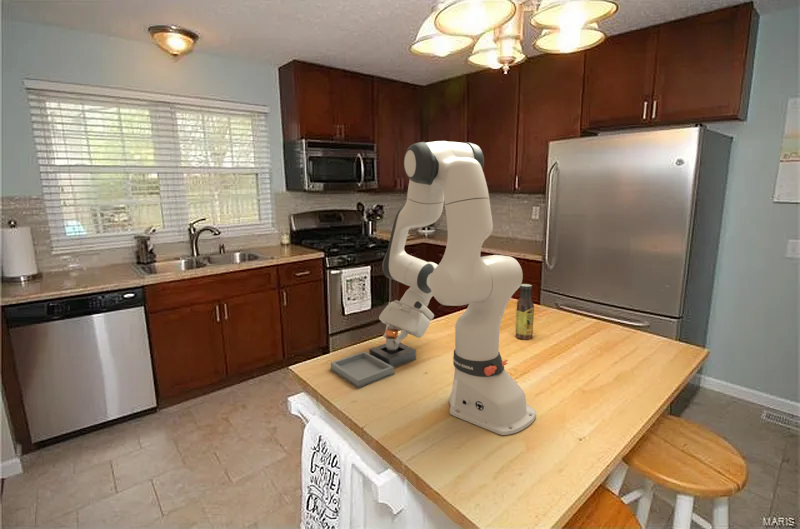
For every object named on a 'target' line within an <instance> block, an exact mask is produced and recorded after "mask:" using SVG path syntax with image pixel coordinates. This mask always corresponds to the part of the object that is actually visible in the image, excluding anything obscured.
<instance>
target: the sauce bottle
mask: <svg viewBox="0 0 800 529" xmlns="http://www.w3.org/2000/svg"><path fill="white" fill-rule="evenodd" d="M519 289H520V295H519V298H518V300H517V302H516V310H515V329H514V330H515V337H516V338H518V339H520V340H531V339H532V338H533V334H534V320H535V319H534V317H535V305H534V302H533V300H532V299H533V298H532V289H533V285H532V284H528V283H521V286H520V287H519Z"/></svg>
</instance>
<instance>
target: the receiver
mask: <svg viewBox="0 0 800 529" xmlns="http://www.w3.org/2000/svg"><path fill="white" fill-rule="evenodd" d="M368 350H369V352H368V353H369V354H371V355H372V356H374V357H376V358H378V359H380V360H382V361H384V362H385V363H387V364H389V365H391V366H393V367H394V369H395V367H396V368H398V367H400V365H401V366H403V365H405V364H408V363H410V361H411V362H414V361H416V360H417V349H416V348H413V347H412V346H411V347H410V346H408V345H406V344H404V343H402V342H400V343H399V344H398V351H399V352H397V353H394V354H389V353H387V352H386V342H385V343H383V344H380V345H377V346H374V347H370V348H369V349H368ZM413 360H414V361H413Z"/></svg>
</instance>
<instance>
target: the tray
mask: <svg viewBox="0 0 800 529" xmlns="http://www.w3.org/2000/svg"><path fill="white" fill-rule="evenodd" d="M329 365H330V370H331V371H332V372H333V373H334V374H336V375H338V376H339V377H340V378H342V379H344V380H345V381H346V382H348V383H349V384H351V385H352V386H354V387H355V388H357V389H359V390H360V389H361V388H364V387H367V386H369V385H372V384H375V383H377V382H379V381H381V380H384V379H386V378H388V377H392V376H394V375H395V368H394V367H393V366H391V365H389V364H387V363H385V362H384V361H382V360H380V359H378V358H376V357H374V356H372V355H371V354H370V353H369V352H367V351H365V350H364V351H361V352H358V353H355V354H352V355H348V356H346V357H343V358H340V359H337V360H334V361H331V362H330V364H329Z"/></svg>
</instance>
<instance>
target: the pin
mask: <svg viewBox="0 0 800 529" xmlns="http://www.w3.org/2000/svg"><path fill="white" fill-rule="evenodd" d="M385 332H386V338H385V343H386V352H387V353H389V354H394V353H397V352H399V351H398V344H397V343H395V342H394V341H393V339H394V338H395V336H398V335H399V330H398V329H396V328H393V329H387V330H386V329H385Z"/></svg>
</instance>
